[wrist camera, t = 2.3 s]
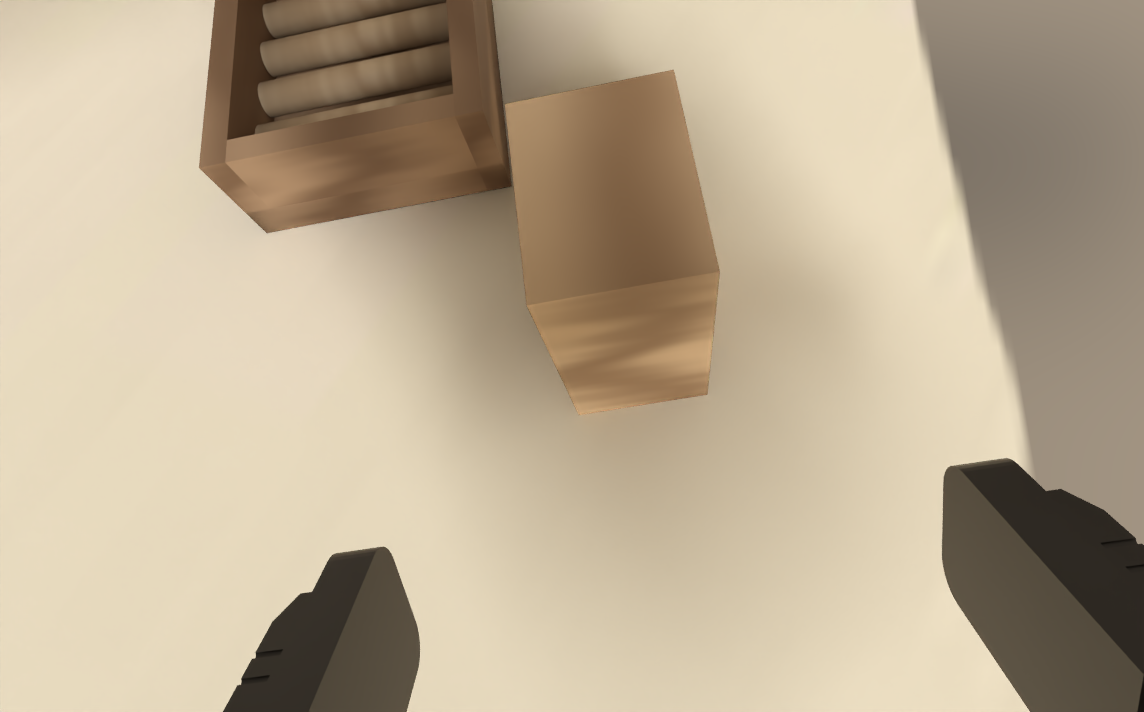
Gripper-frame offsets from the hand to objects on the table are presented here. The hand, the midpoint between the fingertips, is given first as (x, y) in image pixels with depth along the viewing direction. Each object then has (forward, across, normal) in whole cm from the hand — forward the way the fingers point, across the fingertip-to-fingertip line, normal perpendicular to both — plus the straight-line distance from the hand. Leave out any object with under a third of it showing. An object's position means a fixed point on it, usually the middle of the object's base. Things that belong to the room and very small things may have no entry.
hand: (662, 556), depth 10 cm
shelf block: (+16, 0, +2) cm, 16 cm away
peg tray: (+25, +9, -7) cm, 27 cm away
